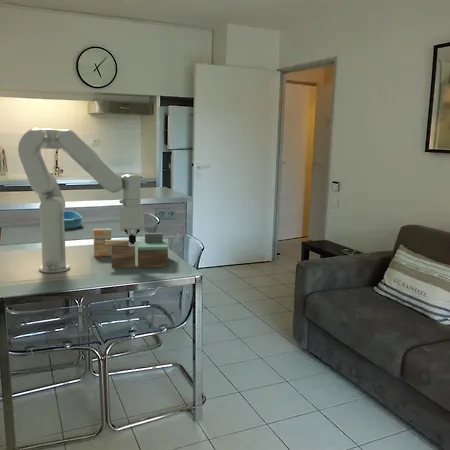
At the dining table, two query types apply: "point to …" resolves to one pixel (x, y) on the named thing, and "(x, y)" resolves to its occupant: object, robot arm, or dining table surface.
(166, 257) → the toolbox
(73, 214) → the casserole dish
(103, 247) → the supplement box
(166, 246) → the lid
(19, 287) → the dining table surface
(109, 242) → the tan wooden bar
